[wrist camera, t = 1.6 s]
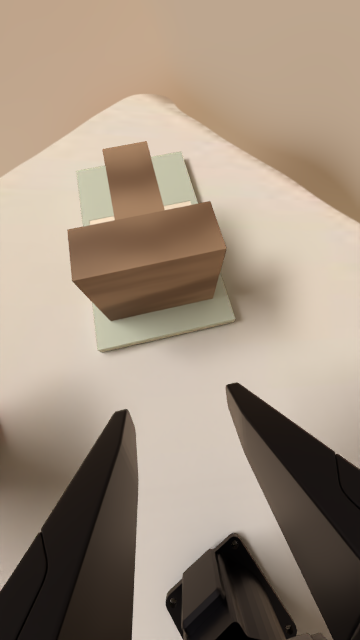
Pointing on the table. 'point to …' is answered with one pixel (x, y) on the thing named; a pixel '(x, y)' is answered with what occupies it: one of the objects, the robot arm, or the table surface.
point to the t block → (145, 244)
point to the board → (161, 322)
